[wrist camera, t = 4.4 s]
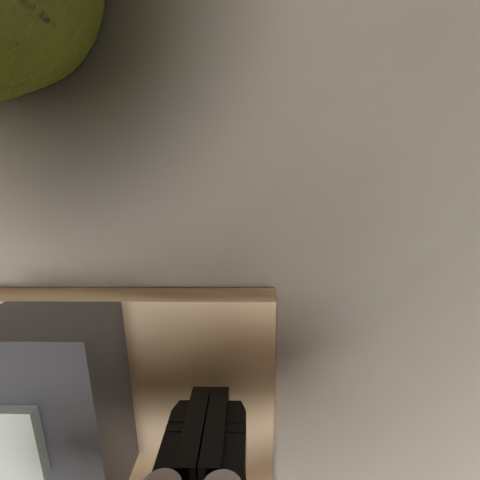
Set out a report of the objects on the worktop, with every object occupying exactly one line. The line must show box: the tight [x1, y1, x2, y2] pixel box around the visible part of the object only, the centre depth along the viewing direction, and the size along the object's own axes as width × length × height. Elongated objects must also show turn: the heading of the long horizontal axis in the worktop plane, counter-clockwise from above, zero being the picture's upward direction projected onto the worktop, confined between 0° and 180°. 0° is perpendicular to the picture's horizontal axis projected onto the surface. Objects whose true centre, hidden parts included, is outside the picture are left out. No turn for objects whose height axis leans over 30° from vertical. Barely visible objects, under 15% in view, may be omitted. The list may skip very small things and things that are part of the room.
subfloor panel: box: [0, 287, 276, 480], centre depth 16 cm, size 18×26×2 cm
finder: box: [0, 301, 139, 480], centre depth 13 cm, size 8×5×3 cm, turn 1°
